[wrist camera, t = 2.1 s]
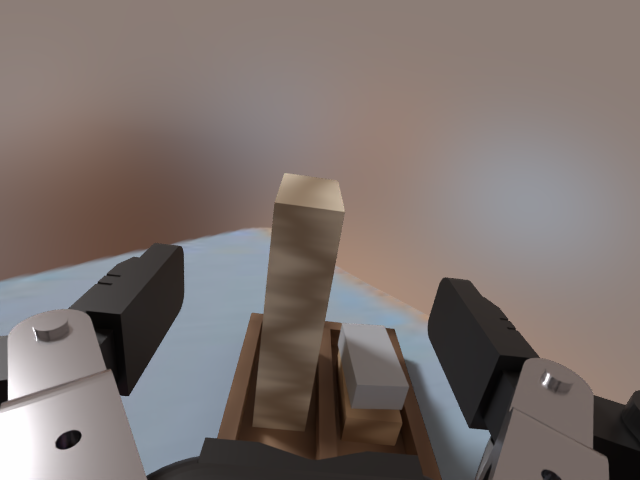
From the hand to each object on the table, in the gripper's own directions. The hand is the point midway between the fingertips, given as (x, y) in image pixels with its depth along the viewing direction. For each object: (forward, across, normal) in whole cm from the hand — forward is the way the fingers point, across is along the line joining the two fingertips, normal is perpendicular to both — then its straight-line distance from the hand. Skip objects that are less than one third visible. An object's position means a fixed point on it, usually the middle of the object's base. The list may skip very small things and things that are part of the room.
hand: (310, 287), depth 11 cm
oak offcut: (+13, -7, +19) cm, 24 cm away
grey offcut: (+14, -7, +16) cm, 22 cm away
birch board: (+13, 0, +18) cm, 23 cm away
